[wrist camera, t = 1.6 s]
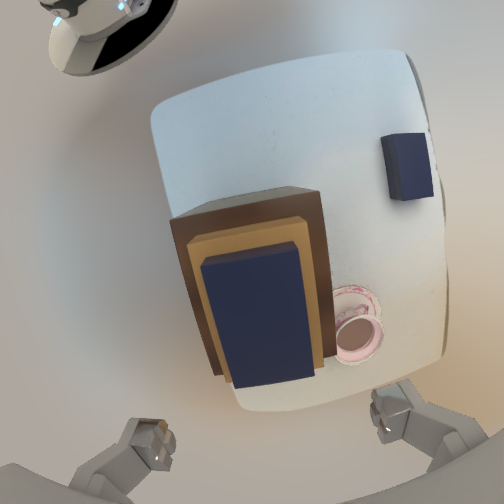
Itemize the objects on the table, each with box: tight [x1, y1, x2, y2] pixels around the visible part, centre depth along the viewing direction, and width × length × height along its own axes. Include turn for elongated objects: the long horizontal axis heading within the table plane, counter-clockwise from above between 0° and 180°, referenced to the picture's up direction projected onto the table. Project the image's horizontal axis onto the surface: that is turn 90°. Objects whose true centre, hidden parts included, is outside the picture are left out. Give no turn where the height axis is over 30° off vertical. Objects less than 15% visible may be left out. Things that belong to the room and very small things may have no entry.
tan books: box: [187, 216, 324, 383], centre depth 20 cm, size 11×8×3 cm
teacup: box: [333, 286, 384, 366], centre depth 39 cm, size 12×12×6 cm
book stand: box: [170, 186, 337, 376], centre depth 30 cm, size 14×11×18 cm
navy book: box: [200, 241, 315, 389], centre depth 17 cm, size 9×6×2 cm, turn 11°
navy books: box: [381, 133, 434, 201], centre depth 34 cm, size 9×6×4 cm, turn 11°
